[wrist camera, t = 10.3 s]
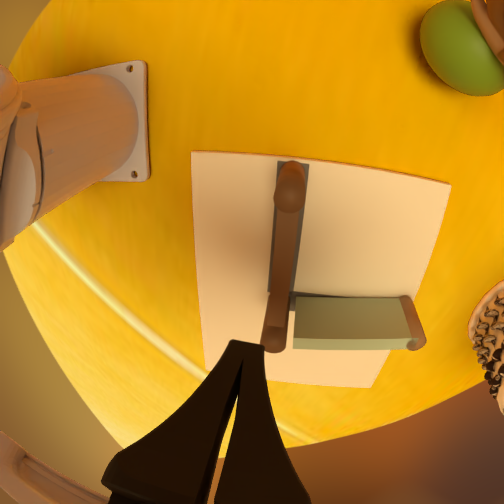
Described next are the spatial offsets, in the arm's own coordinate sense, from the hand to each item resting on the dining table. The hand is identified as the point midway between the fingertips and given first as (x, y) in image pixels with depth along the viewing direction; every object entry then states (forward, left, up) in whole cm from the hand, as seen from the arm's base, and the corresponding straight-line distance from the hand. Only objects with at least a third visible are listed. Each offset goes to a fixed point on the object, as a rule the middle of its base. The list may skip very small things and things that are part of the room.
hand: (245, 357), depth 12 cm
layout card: (+3, -4, -9) cm, 11 cm away
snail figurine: (+10, +14, -10) cm, 20 cm away
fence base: (+1, +1, -9) cm, 9 cm away
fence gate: (+7, -3, -9) cm, 11 cm away
